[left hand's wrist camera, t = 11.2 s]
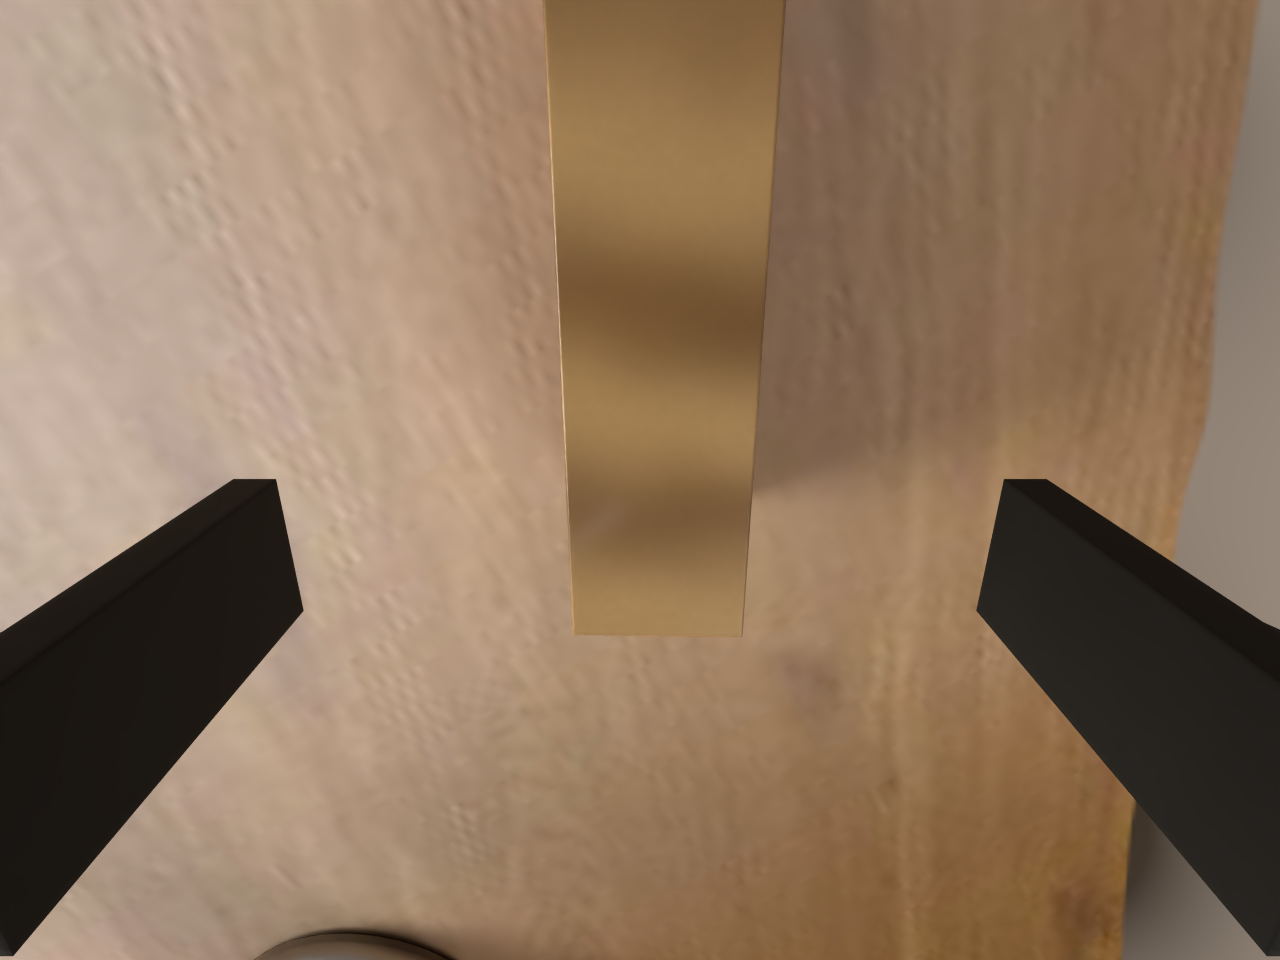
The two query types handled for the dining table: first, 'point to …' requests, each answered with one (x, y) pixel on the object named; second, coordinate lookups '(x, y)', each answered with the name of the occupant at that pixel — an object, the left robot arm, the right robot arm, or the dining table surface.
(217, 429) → the dining table surface
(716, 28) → the plank
